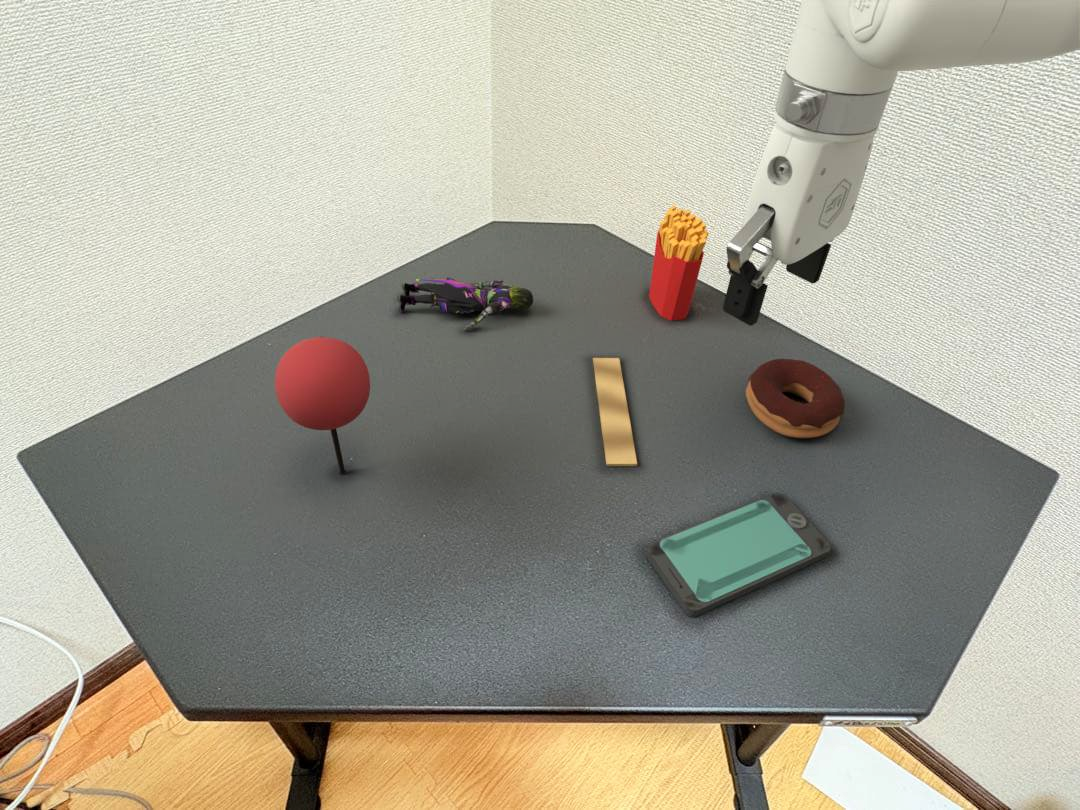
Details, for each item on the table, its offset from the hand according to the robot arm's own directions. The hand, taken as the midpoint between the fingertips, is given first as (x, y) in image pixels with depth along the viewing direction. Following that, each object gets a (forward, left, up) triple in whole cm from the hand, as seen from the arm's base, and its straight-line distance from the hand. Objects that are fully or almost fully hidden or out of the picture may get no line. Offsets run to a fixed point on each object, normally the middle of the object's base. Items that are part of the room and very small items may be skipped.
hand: (771, 296), depth 65 cm
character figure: (+32, -12, -16) cm, 38 cm away
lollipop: (+36, +16, -16) cm, 43 cm away
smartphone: (-1, +17, -16) cm, 23 cm away
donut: (-6, -3, -16) cm, 17 cm away
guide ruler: (+12, +1, -16) cm, 20 cm away
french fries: (+8, -19, -16) cm, 26 cm away
